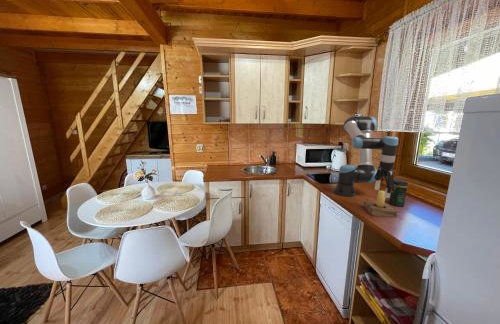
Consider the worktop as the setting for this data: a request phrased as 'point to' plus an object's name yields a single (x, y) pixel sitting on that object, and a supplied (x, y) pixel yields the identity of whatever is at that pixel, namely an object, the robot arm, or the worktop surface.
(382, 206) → the peg
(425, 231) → the worktop surface
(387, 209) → the socket block
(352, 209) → the worktop surface
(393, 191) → the coffee jar
